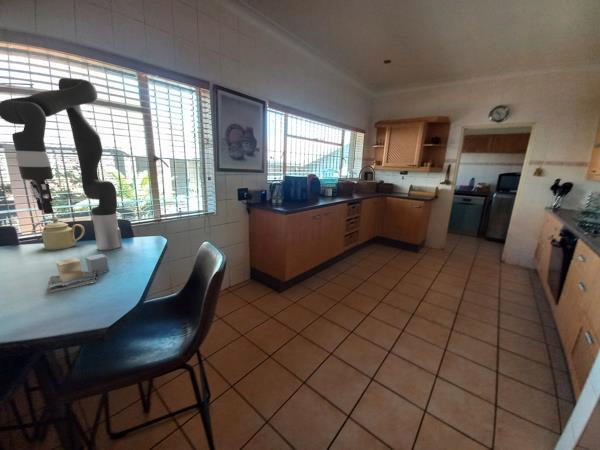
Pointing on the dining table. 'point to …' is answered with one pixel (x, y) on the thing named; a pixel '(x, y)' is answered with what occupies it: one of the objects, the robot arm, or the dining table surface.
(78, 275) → the beech block
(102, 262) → the slate block
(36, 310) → the dining table surface
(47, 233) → the yellow teapot
